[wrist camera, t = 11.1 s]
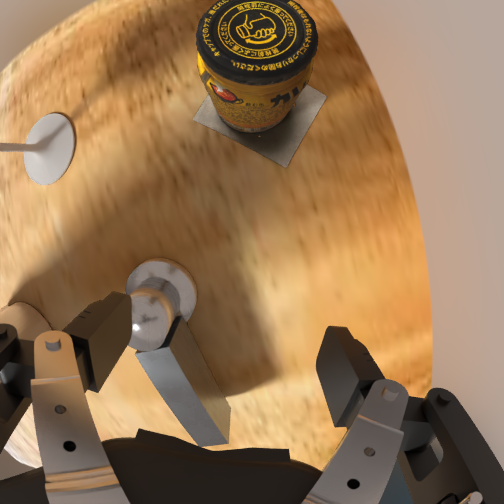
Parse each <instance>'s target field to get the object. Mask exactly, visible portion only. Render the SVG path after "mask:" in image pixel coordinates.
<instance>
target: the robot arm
mask: <svg viewBox="0 0 504 504" xmlns="http://www.w3.org/2000/svg"><path fill="white" fill-rule="evenodd" d="M131 336H132V299H131V296H130V295H127V294H123V293H118V292H112V293H110V294H109V295H108V296H107V297H106V298H105V299H104V300H103V301H101V300H99V301H97V302H94V303H92V304H90V305H89V306H88V307H87V308H86V309H85V310H84V311H83V312H81V313H80V314H79V315H78V317H76V318H75V319H74V320H73V321H72V322H71V323H70V324H69V325H68V326H67V327H66V328H65V329H64V330H63V331H52V329H51V327H50V326H49V324H48V323H47V321H46V320H45V319H44V317H43V316H42V315H41V314H40V313H39V312H38V311H37V310H36V309H34V308H33V307H32V306H30V305H29V304H26V303H24V302H17V303H14V304H13V305H11V306H7V305H6V306H4V307H3V308H2V309H0V453H1V452H2V450H3V448H4V446H5V445H6V443H7V441H8V439H9V438H10V436H11V434H12V433H13V431H14V429H15V428H16V426H17V425H18V423H19V421H20V420H21V418H22V417H23V415H24V414H25V412H26V410H27V409H28V407H29V406H30V404H31V403H32V405H33V414H34V422H35V428H36V435H37V440H38V446H39V451H40V456H41V460H42V465H43V466H42V467H39V468H37V469H34V470H31V471H28V472H25V473H22V474H20V475H17V476H13V477H10V478H7V479H4V480H0V504H378V503H379V501H380V498H381V496H382V494H383V492H384V489H385V487H386V484H387V482H388V479H389V477H390V474H391V472H392V469H393V466H394V463H395V461H396V458H397V459H398V462H399V464H400V467H401V470H402V472H403V475H404V478H405V481H406V484H407V486H408V489H409V492H410V495H411V498H412V501H413V504H504V471H503V469H502V467H501V465H500V464H499V462H498V460H497V459H496V457H495V456H494V454H493V452H492V450H491V449H490V447H489V446H488V444H487V443H486V441H485V439H484V438H483V436H482V435H481V433H480V432H479V430H478V429H477V427H476V426H475V424H474V423H473V421H472V420H471V418H470V417H469V415H468V414H467V412H466V411H465V409H464V408H463V406H462V405H461V404H460V402H459V401H458V399H457V398H456V397H455V396H454V395H453V394H452V393H451V392H449V391H448V390H445V389H442V388H433V389H431V390H430V391H429V392H428V393H427V395H426V397H425V398H418V397H411V396H409V394H408V392H407V390H406V389H405V387H403V386H402V385H401V384H399V383H398V382H396V381H393V380H389V379H385V377H384V376H383V374H382V372H381V371H380V369H379V367H378V366H377V364H376V363H375V361H374V359H373V358H372V356H371V355H370V353H369V351H368V350H367V348H366V347H365V346H364V345H363V344H362V343H361V342H359V341H358V340H357V339H354V338H353V336H352V335H351V333H350V331H349V330H348V328H347V327H339V326H328V327H327V329H326V332H325V335H324V338H323V341H322V344H321V347H320V350H319V353H318V356H317V360H316V371H317V374H318V377H319V380H320V383H321V386H322V389H323V392H324V395H325V398H326V401H327V405H328V408H329V411H330V414H331V417H332V420H333V423H334V427H347V432H346V433H345V435H344V437H343V438H342V440H341V442H340V443H339V445H338V447H337V448H336V450H335V451H334V453H333V455H332V456H331V458H330V459H329V461H328V462H327V464H326V465H325V467H324V468H323V470H322V471H320V470H318V469H317V468H315V467H313V466H311V465H308V464H306V463H303V462H300V461H297V460H293V459H290V454H289V449H270V448H244V449H234V450H223V451H211V450H208V449H205V448H202V447H199V446H197V445H194V444H191V443H189V442H186V441H184V440H181V439H179V438H176V437H173V436H168V435H164V434H159V433H155V432H151V431H147V430H143V429H138V432H137V435H136V437H135V438H131V437H128V438H114V439H109V440H105V441H102V442H101V440H100V438H99V435H98V433H97V430H96V427H95V424H94V421H93V418H92V415H91V412H90V409H89V406H88V403H87V399H86V396H85V392H86V391H87V389H88V390H91V391H94V392H97V393H98V392H99V391H100V389H101V387H102V386H103V384H104V382H105V381H106V379H107V377H108V376H109V374H110V373H111V371H112V369H113V368H114V366H115V364H116V363H117V361H118V360H119V358H120V356H121V355H122V353H123V352H124V350H125V348H126V347H127V345H128V344H129V342H130V340H131ZM436 437H437V439H438V441H439V442H440V444H441V447H442V448H443V452H444V453H443V459H442V461H441V462H440V463H439V461H438V459H437V457H436V455H435V453H434V451H433V449H432V447H431V445H430V444H431V443H432V442H433V440H434V439H435V438H436Z"/></svg>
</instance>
